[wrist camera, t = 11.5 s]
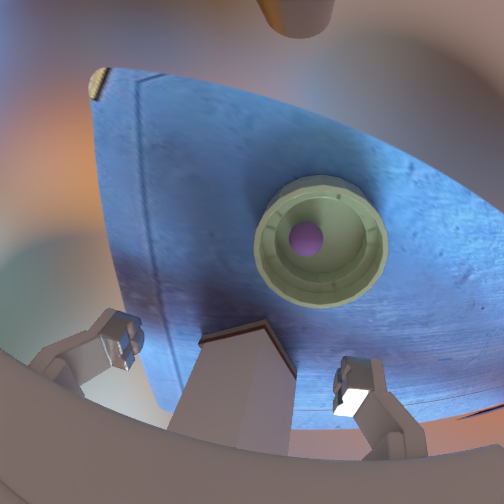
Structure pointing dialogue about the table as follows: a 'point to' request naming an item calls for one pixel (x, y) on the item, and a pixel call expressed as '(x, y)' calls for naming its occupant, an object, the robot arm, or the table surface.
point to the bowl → (333, 248)
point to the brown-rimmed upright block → (239, 391)
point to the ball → (306, 238)
